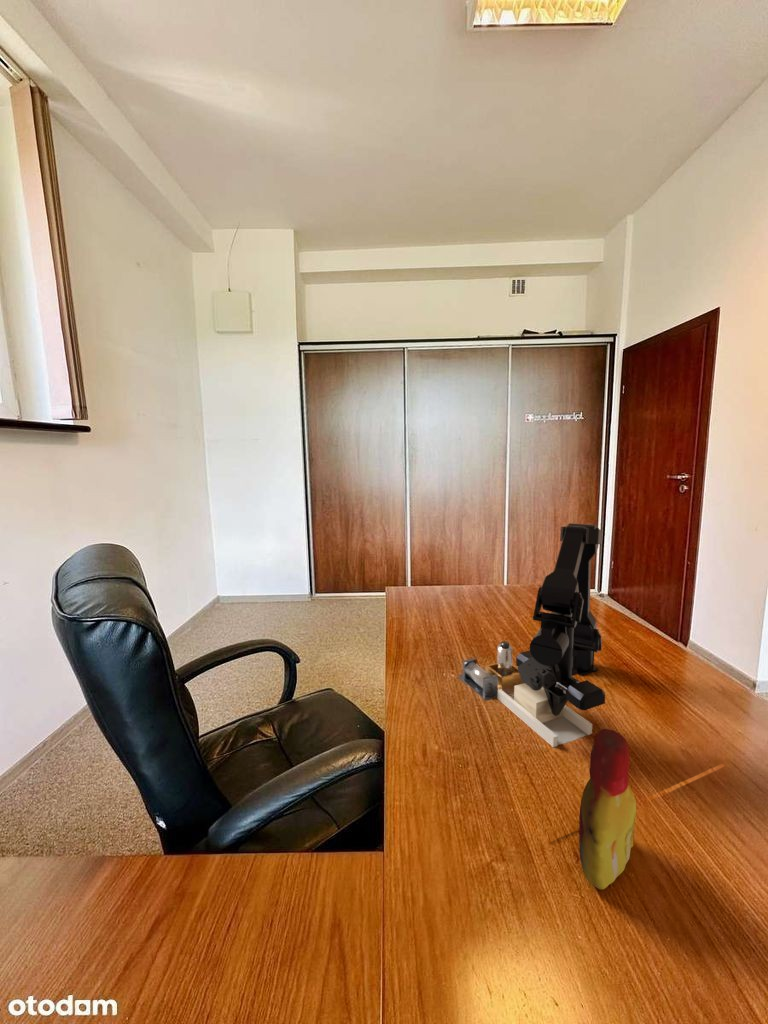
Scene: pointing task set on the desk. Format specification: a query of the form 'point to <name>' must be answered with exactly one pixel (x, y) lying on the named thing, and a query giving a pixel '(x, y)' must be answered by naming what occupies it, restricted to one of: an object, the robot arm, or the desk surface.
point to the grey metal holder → (488, 679)
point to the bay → (540, 726)
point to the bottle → (606, 811)
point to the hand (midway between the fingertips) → (555, 714)
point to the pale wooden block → (534, 702)
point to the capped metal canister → (504, 659)
